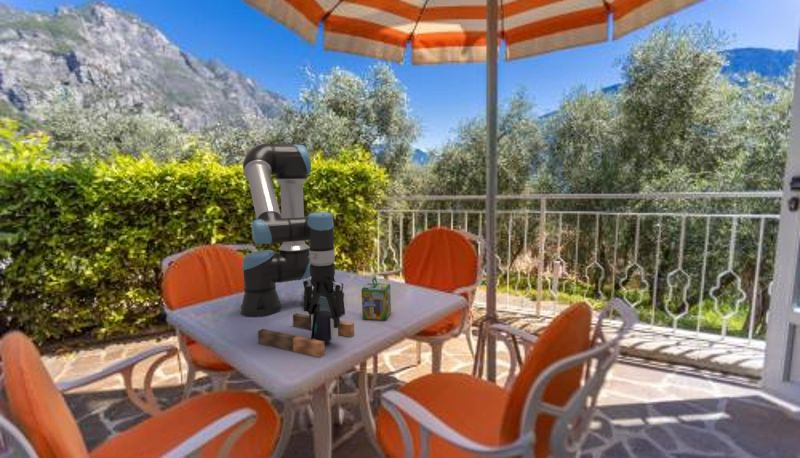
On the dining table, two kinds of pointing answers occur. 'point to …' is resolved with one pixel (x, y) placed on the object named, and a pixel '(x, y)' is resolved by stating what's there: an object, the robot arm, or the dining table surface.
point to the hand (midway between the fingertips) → (324, 335)
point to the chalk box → (376, 301)
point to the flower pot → (325, 302)
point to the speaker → (321, 325)
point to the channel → (299, 342)
